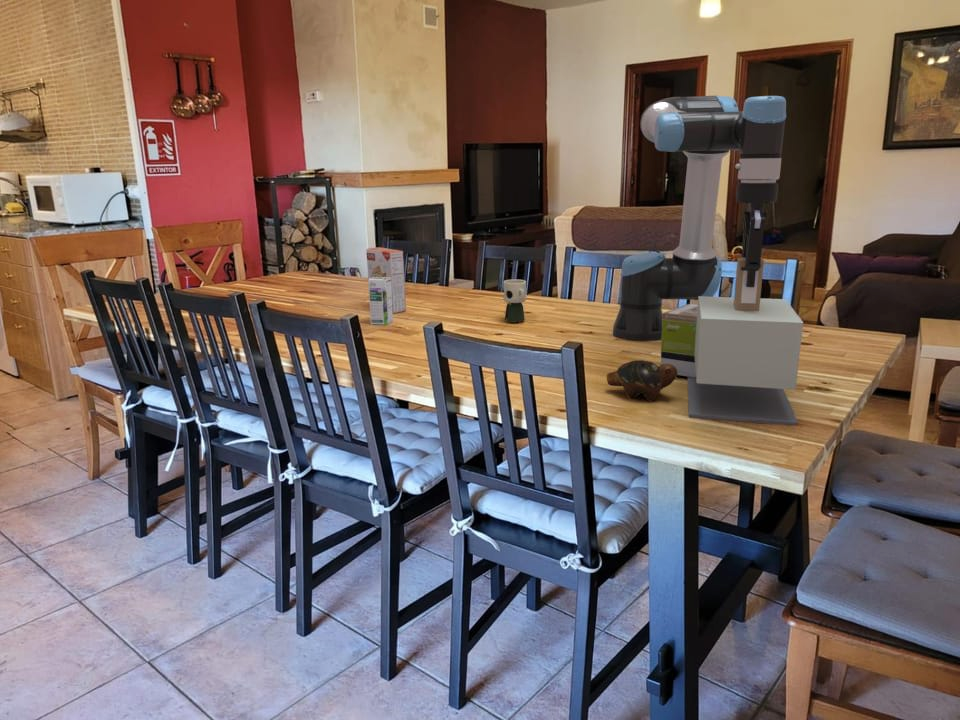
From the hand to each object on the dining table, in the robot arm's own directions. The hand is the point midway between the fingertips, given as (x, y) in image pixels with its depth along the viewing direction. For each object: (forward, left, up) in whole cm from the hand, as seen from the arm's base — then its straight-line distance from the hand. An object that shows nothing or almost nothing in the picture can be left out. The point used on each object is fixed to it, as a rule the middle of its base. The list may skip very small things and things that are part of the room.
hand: (746, 300), depth 141 cm
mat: (0, 0, -22) cm, 22 cm away
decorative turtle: (+1, -20, -22) cm, 30 cm away
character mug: (-62, -62, -22) cm, 90 cm away
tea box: (-20, -9, -21) cm, 31 cm away
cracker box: (-71, -109, -22) cm, 132 cm away
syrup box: (-52, -103, -22) cm, 117 cm away
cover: (0, 0, -15) cm, 15 cm away
